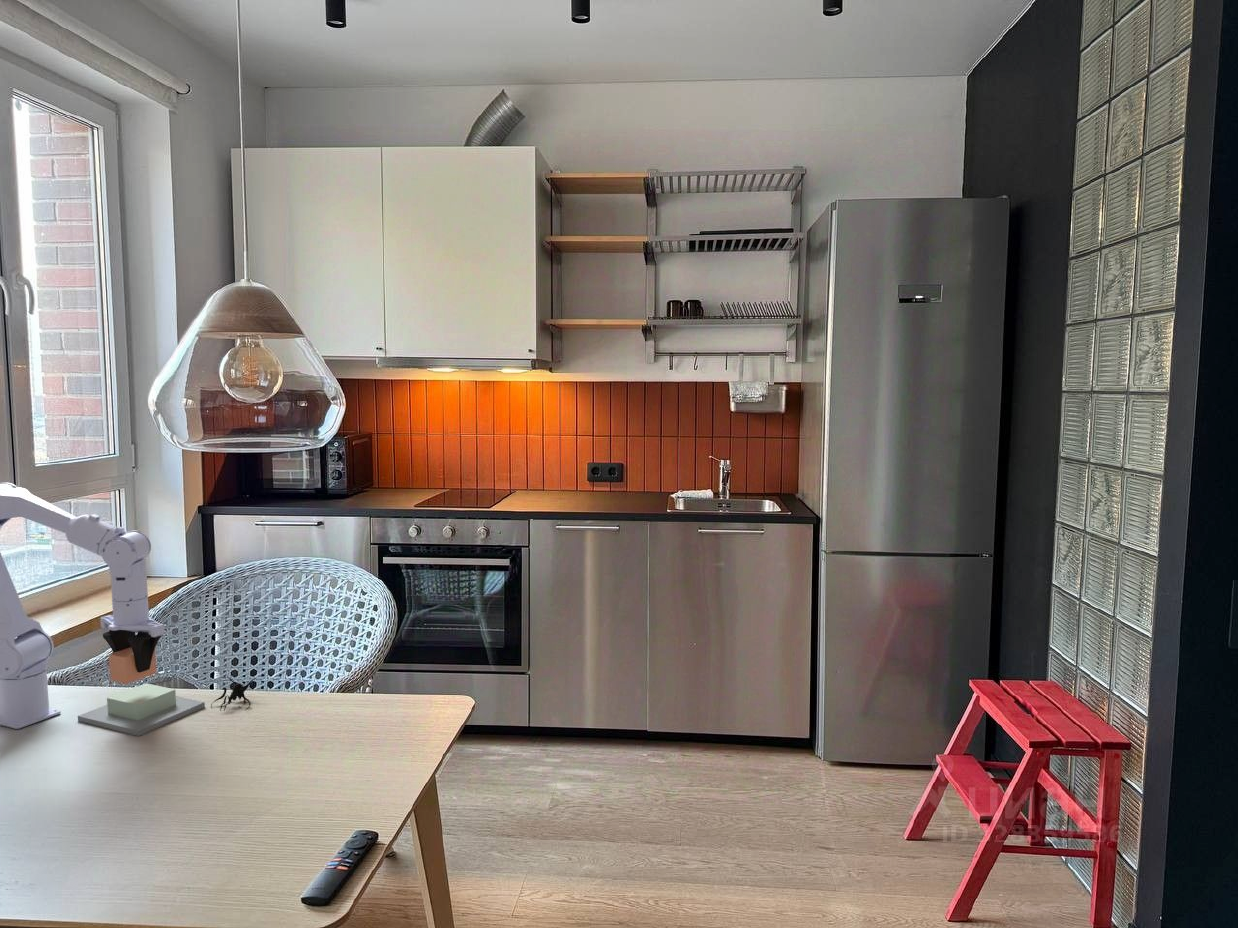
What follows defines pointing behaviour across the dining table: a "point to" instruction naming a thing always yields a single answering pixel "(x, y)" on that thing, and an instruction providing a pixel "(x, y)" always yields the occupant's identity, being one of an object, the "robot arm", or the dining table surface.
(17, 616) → the robot arm
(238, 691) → the creature
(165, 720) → the tower base
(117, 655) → the top brick
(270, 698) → the dining table surface
